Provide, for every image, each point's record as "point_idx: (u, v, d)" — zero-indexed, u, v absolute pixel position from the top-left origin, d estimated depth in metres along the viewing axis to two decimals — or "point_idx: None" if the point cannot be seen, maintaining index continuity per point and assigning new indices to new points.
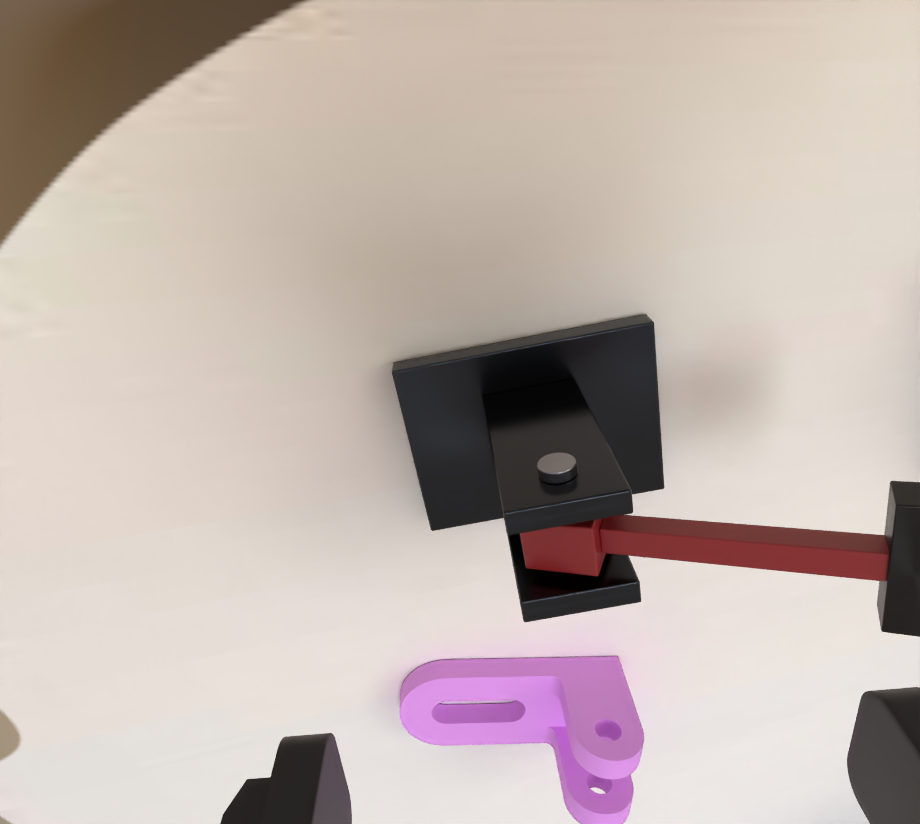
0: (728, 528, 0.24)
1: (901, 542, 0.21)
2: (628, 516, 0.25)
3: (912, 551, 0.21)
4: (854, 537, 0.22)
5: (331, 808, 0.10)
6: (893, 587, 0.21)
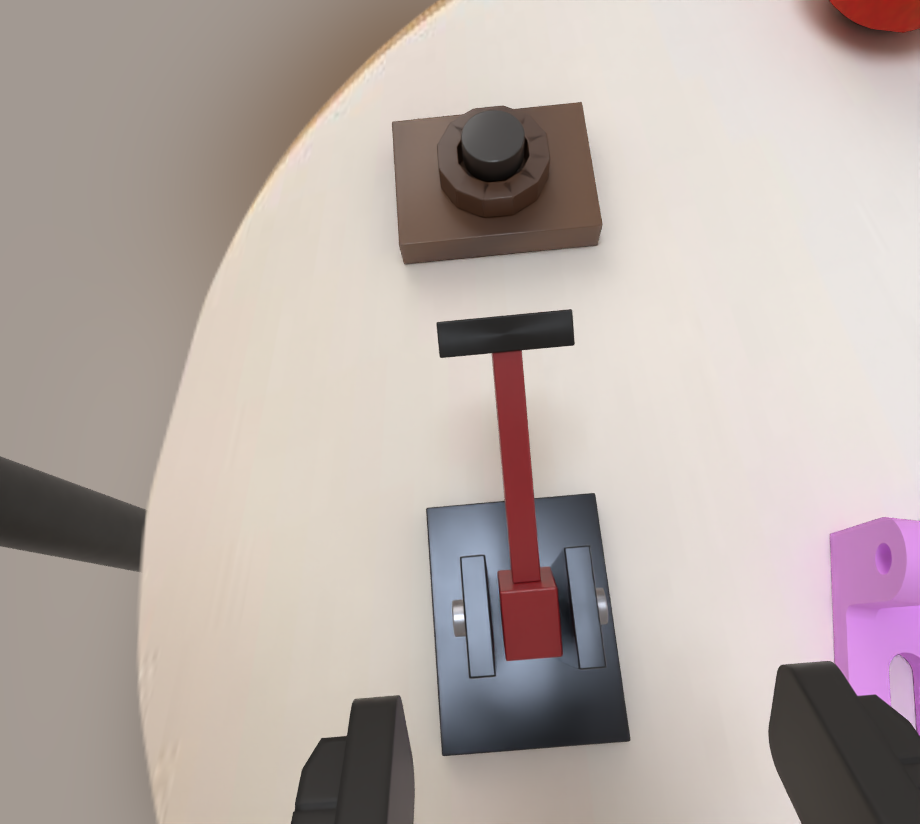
0: (502, 471, 0.27)
1: (475, 347, 0.25)
2: (509, 553, 0.27)
3: (482, 338, 0.25)
4: None
5: (401, 765, 0.10)
6: (522, 344, 0.25)
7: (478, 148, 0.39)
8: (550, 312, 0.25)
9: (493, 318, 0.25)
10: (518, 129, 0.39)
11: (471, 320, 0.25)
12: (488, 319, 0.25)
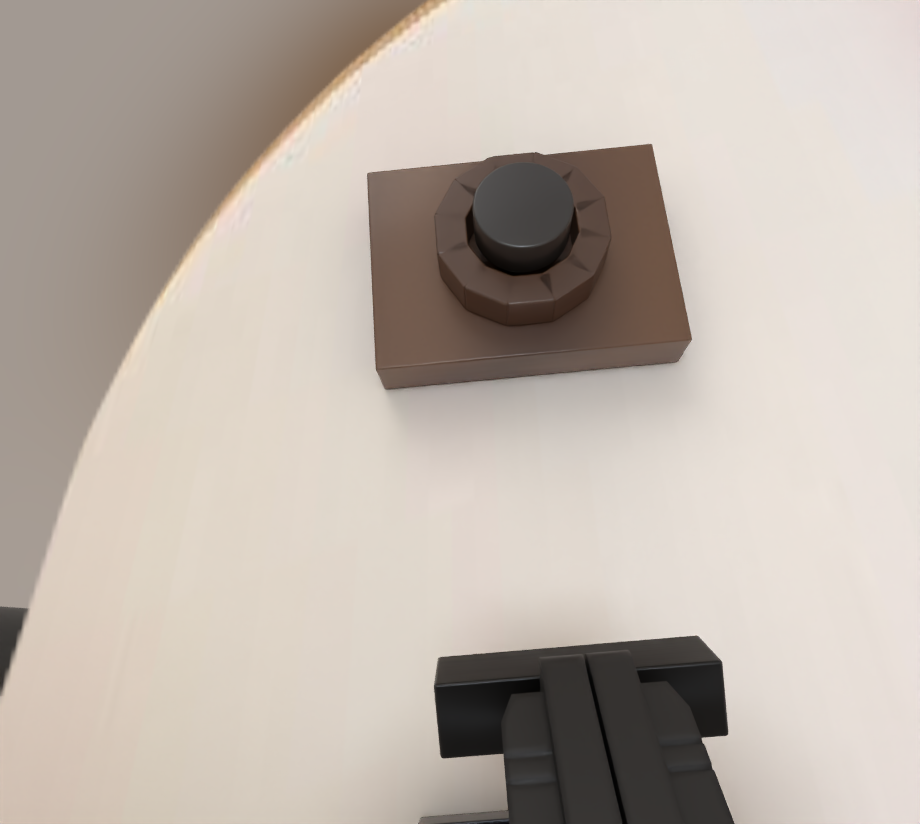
0: None
1: None
2: None
3: None
4: None
5: None
6: None
7: (500, 225, 0.24)
8: (676, 666, 0.12)
9: None
10: (562, 193, 0.25)
11: (508, 682, 0.12)
12: None
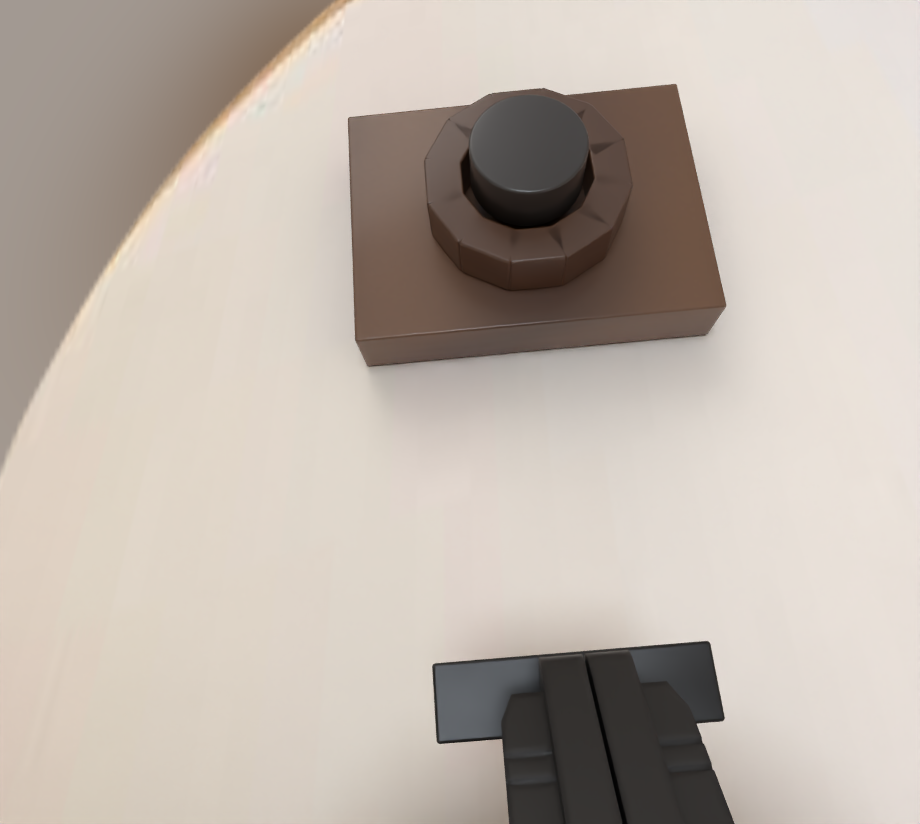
0: None
1: None
2: None
3: None
4: None
5: None
6: None
7: (501, 166, 0.20)
8: (665, 646, 0.12)
9: None
10: (575, 130, 0.21)
11: (503, 661, 0.12)
12: (538, 659, 0.12)
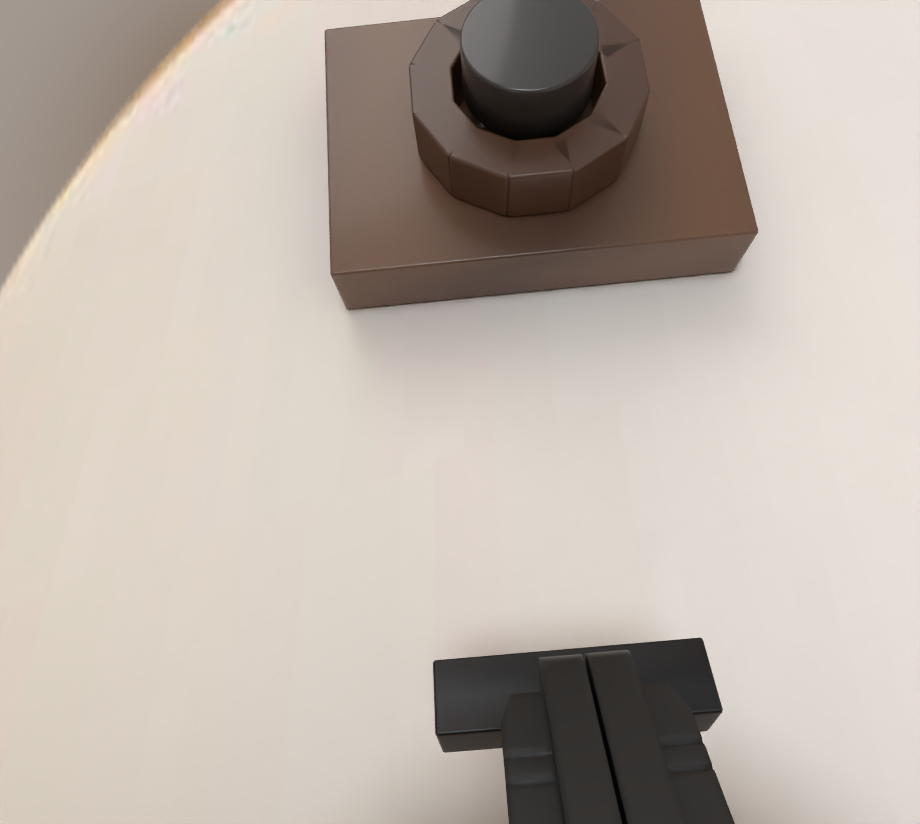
0: None
1: None
2: None
3: None
4: None
5: None
6: None
7: (498, 62, 0.17)
8: (659, 643, 0.13)
9: (546, 652, 0.13)
10: (584, 21, 0.18)
11: (502, 656, 0.13)
12: (536, 654, 0.13)
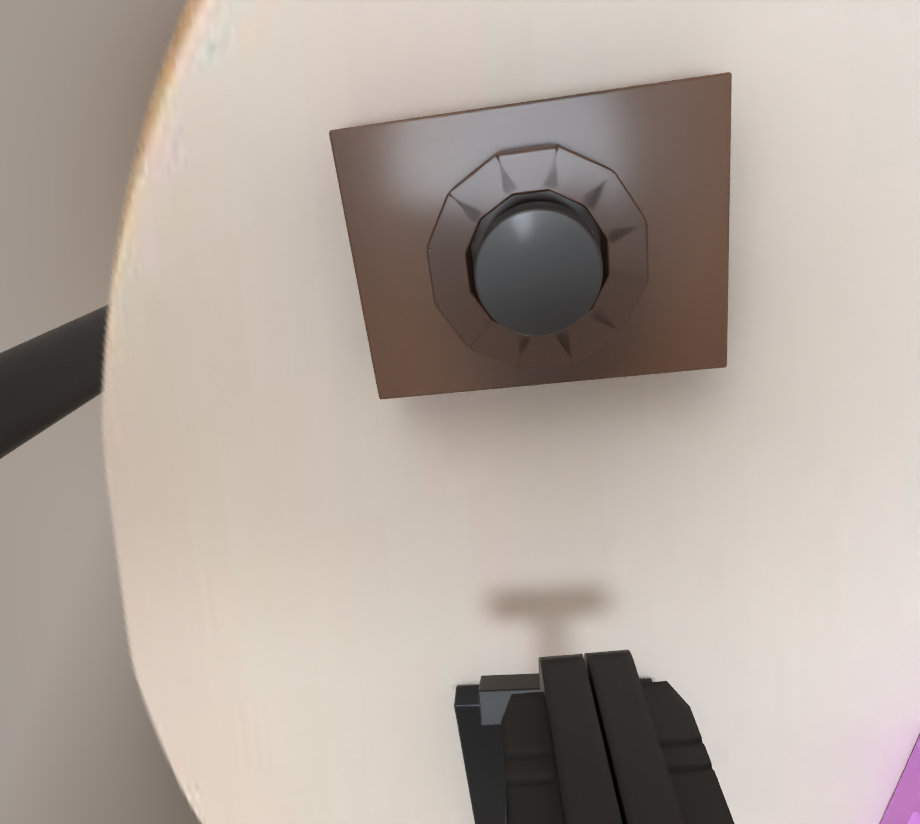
0: None
1: None
2: None
3: None
4: None
5: None
6: None
7: (509, 305, 0.20)
8: None
9: (535, 690, 0.25)
10: (589, 260, 0.19)
11: (513, 691, 0.25)
12: (530, 691, 0.25)
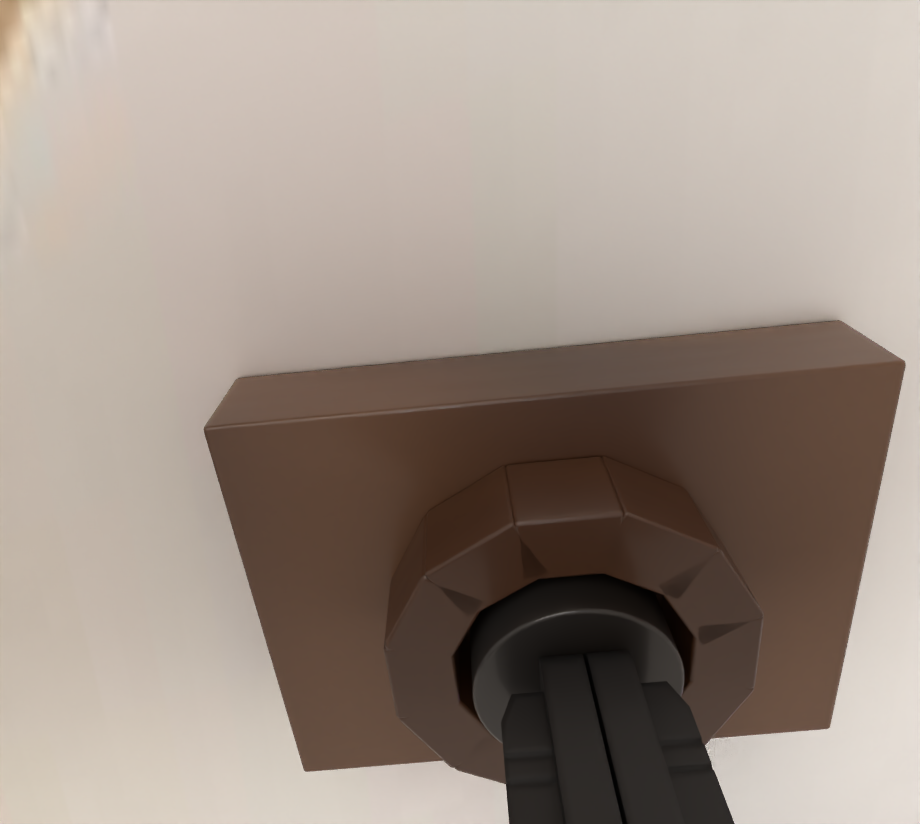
0: None
1: None
2: None
3: None
4: None
5: None
6: None
7: None
8: None
9: None
10: (665, 675, 0.12)
11: None
12: None
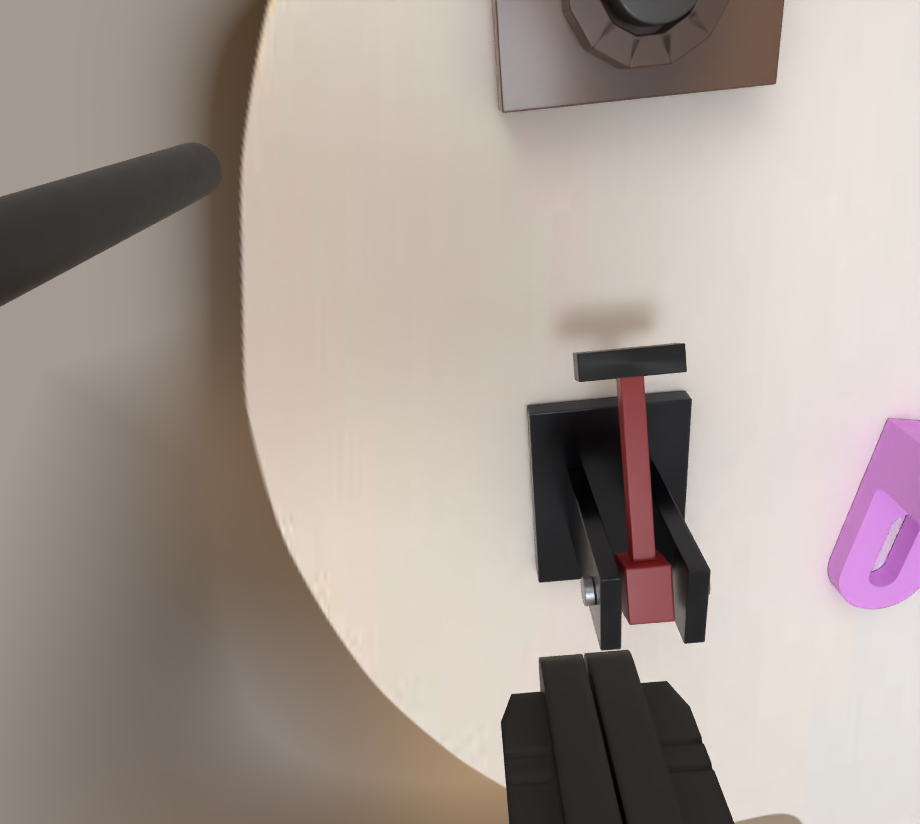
0: (624, 472, 0.33)
1: (607, 374, 0.32)
2: (628, 539, 0.34)
3: (613, 366, 0.32)
4: (618, 395, 0.33)
5: None
6: (645, 371, 0.32)
7: None
8: (667, 345, 0.32)
9: (622, 350, 0.32)
10: None
11: (605, 352, 0.32)
12: (618, 351, 0.32)
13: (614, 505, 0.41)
